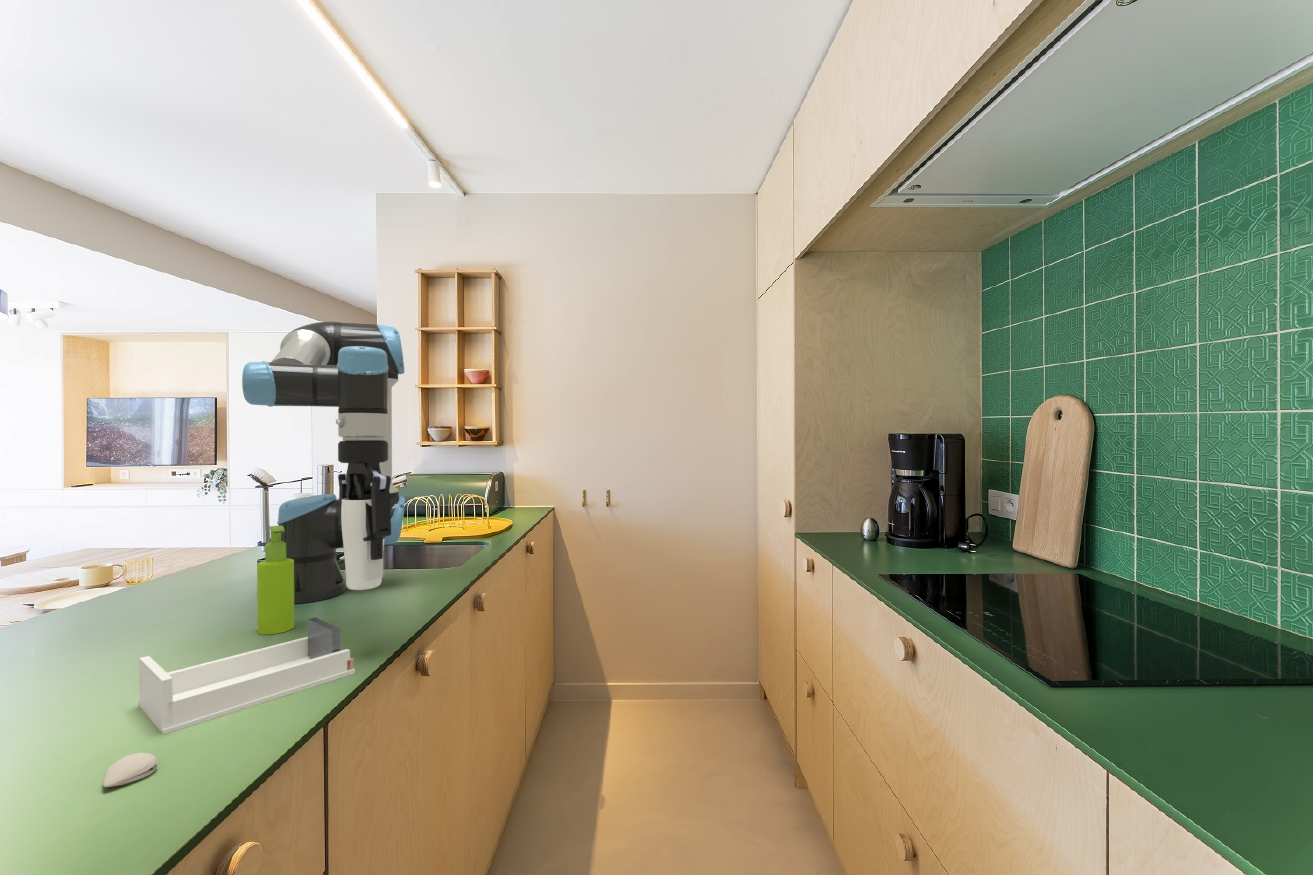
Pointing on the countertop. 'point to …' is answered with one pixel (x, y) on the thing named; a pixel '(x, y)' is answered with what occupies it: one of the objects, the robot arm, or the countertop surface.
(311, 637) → the pusher plate
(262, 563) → the soap dispenser
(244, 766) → the countertop surface
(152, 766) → the clam shell
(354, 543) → the white tumbler cup
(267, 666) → the pusher lane
